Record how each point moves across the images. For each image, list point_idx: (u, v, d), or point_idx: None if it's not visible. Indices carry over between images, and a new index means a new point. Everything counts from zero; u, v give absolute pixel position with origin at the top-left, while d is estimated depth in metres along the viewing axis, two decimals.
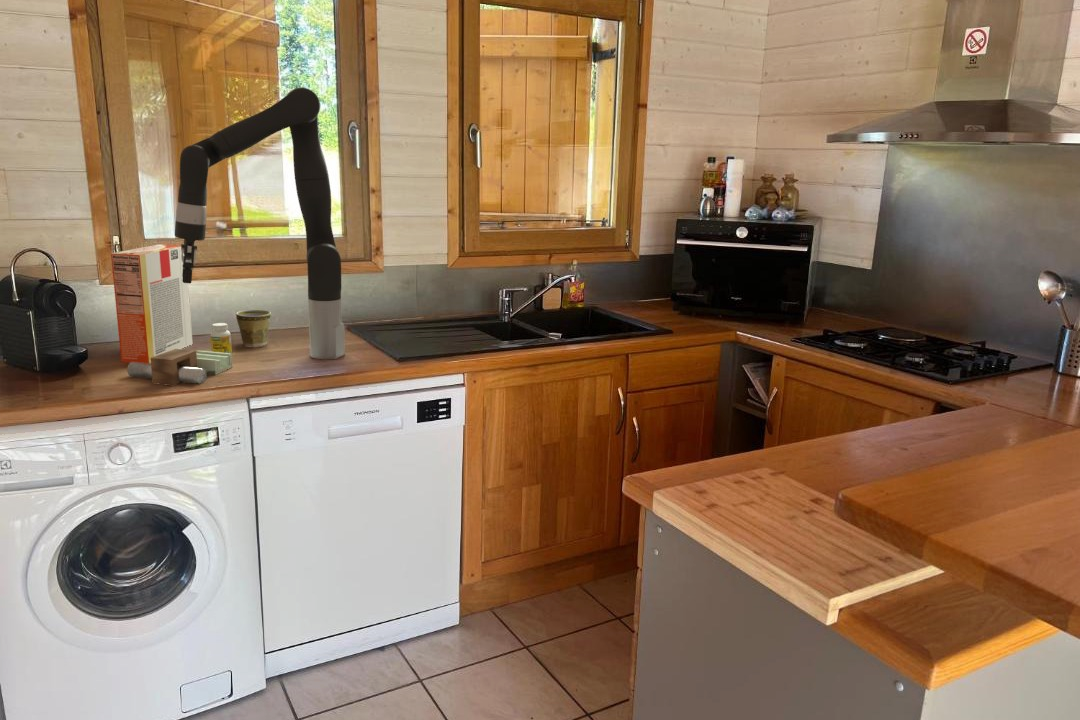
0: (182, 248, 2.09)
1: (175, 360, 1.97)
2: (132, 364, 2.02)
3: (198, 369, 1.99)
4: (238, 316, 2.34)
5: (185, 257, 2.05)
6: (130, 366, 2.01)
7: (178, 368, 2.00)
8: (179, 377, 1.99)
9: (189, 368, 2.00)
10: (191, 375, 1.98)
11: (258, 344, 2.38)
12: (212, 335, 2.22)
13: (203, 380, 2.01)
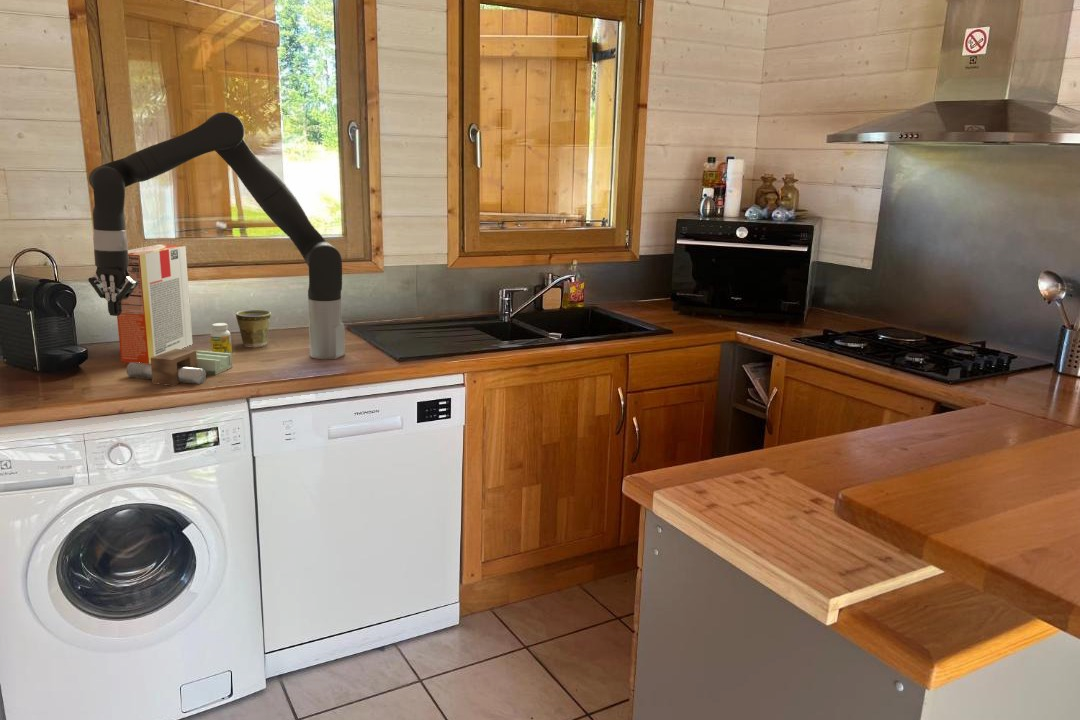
0: (114, 280, 1.96)
1: (175, 360, 1.97)
2: (130, 365, 2.01)
3: (197, 370, 1.99)
4: (238, 316, 2.34)
5: (126, 293, 1.98)
6: (129, 367, 2.01)
7: (177, 369, 1.99)
8: (179, 378, 1.99)
9: (188, 369, 1.99)
10: (190, 376, 1.98)
11: (258, 344, 2.38)
12: (212, 335, 2.22)
13: (203, 380, 2.01)
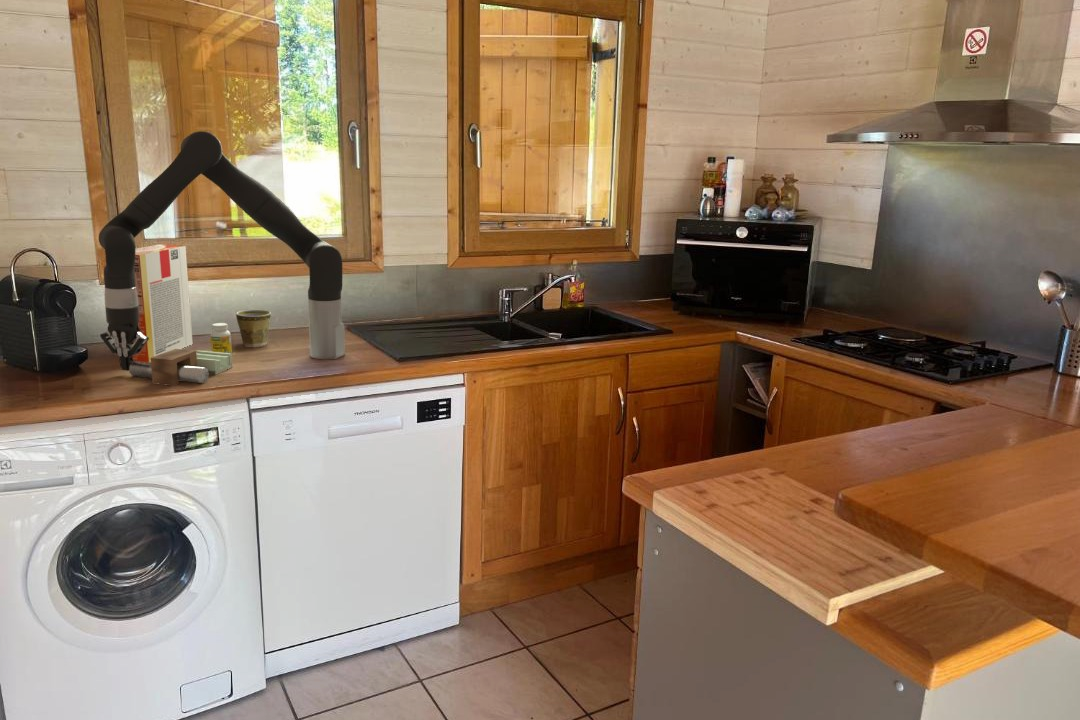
0: (126, 336, 2.00)
1: (175, 360, 1.97)
2: (134, 363, 2.02)
3: (201, 368, 1.99)
4: (238, 316, 2.34)
5: (138, 348, 2.01)
6: (132, 364, 2.02)
7: (181, 367, 2.00)
8: (181, 375, 1.99)
9: (192, 367, 2.00)
10: (193, 373, 1.98)
11: (258, 344, 2.38)
12: (212, 335, 2.22)
13: (205, 380, 2.01)
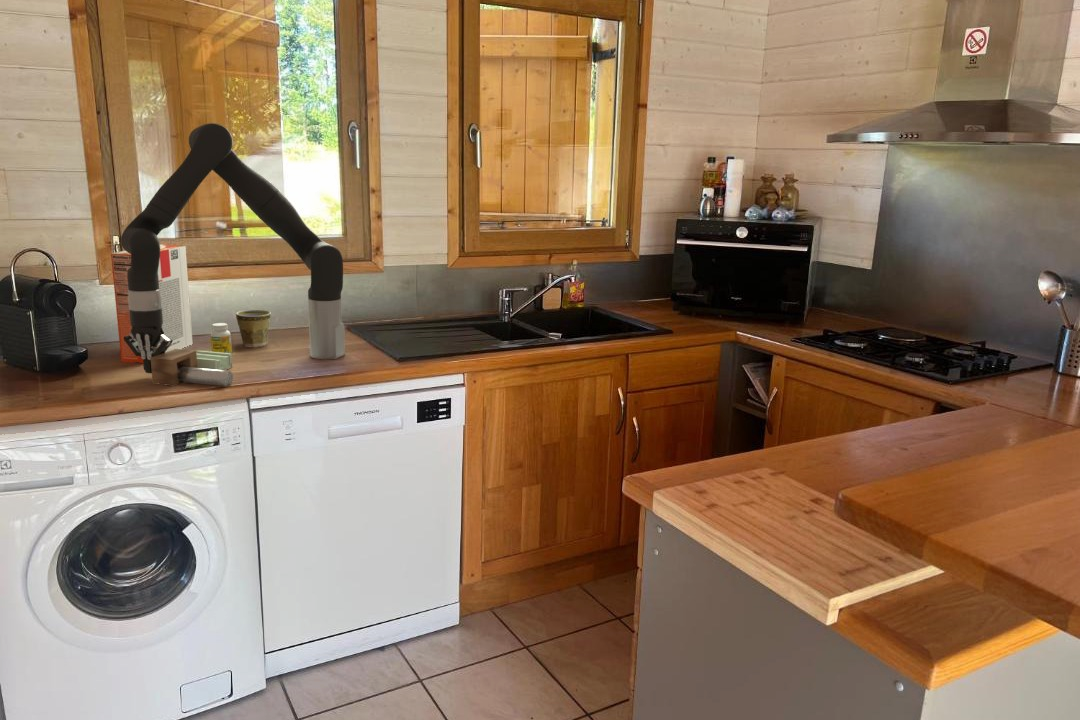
0: (150, 339, 1.98)
1: (175, 360, 1.97)
2: None
3: (225, 371, 1.98)
4: (238, 316, 2.34)
5: (162, 351, 1.99)
6: None
7: (204, 370, 1.98)
8: (205, 379, 1.98)
9: (215, 370, 1.98)
10: (217, 377, 1.97)
11: (258, 344, 2.38)
12: (212, 335, 2.22)
13: (229, 383, 1.99)
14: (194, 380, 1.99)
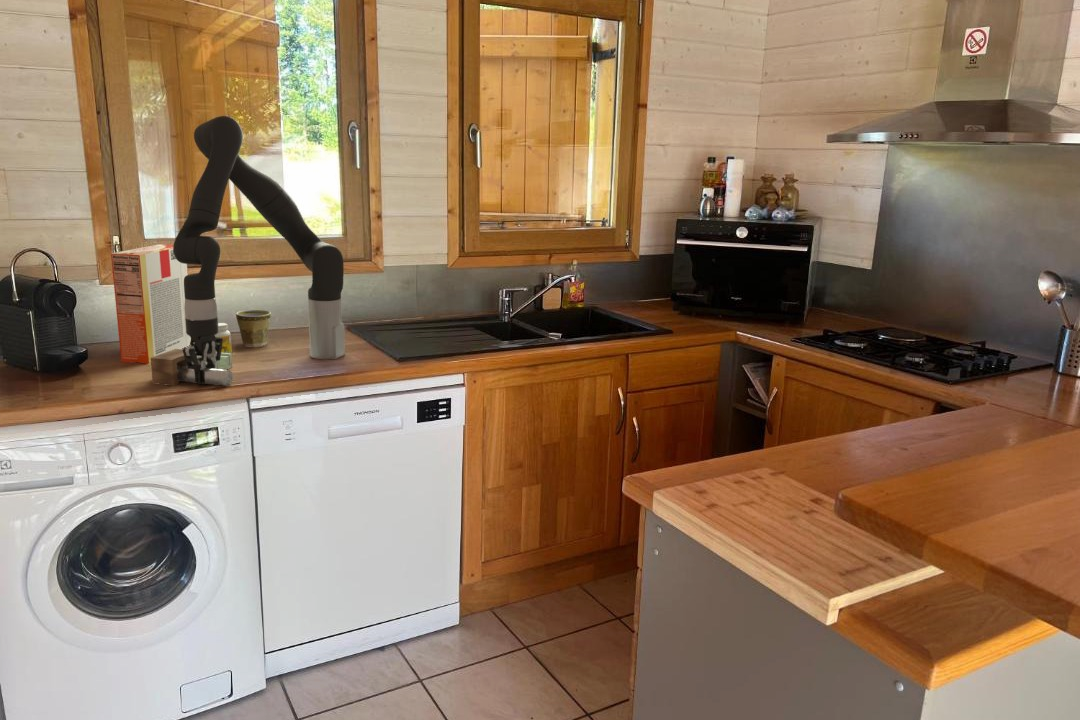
0: None
1: (175, 360, 1.97)
2: None
3: (225, 371, 1.98)
4: (238, 316, 2.34)
5: None
6: None
7: (204, 369, 1.98)
8: (205, 378, 1.98)
9: (216, 370, 1.98)
10: (217, 376, 1.97)
11: (258, 344, 2.38)
12: None
13: (229, 382, 1.99)
14: (193, 379, 1.99)
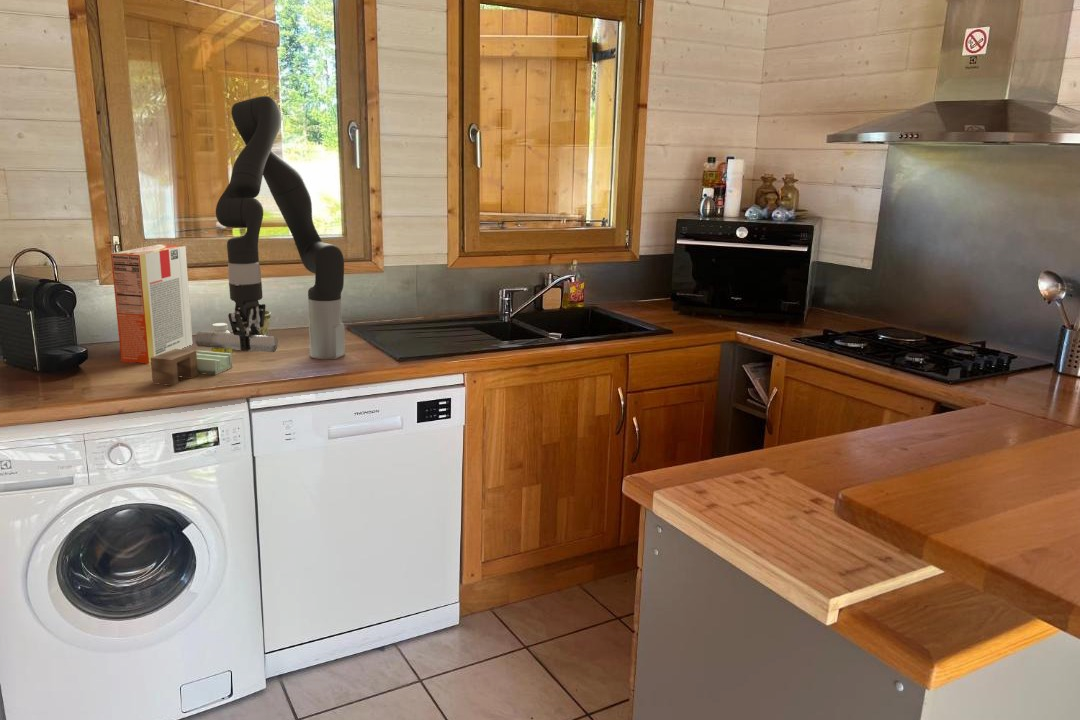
0: None
1: (175, 360, 1.97)
2: (200, 333, 1.96)
3: (270, 337, 1.94)
4: None
5: None
6: (198, 335, 1.96)
7: (249, 336, 1.94)
8: (250, 345, 1.93)
9: (260, 336, 1.94)
10: (263, 342, 1.93)
11: None
12: None
13: (274, 349, 1.95)
14: (238, 346, 1.94)
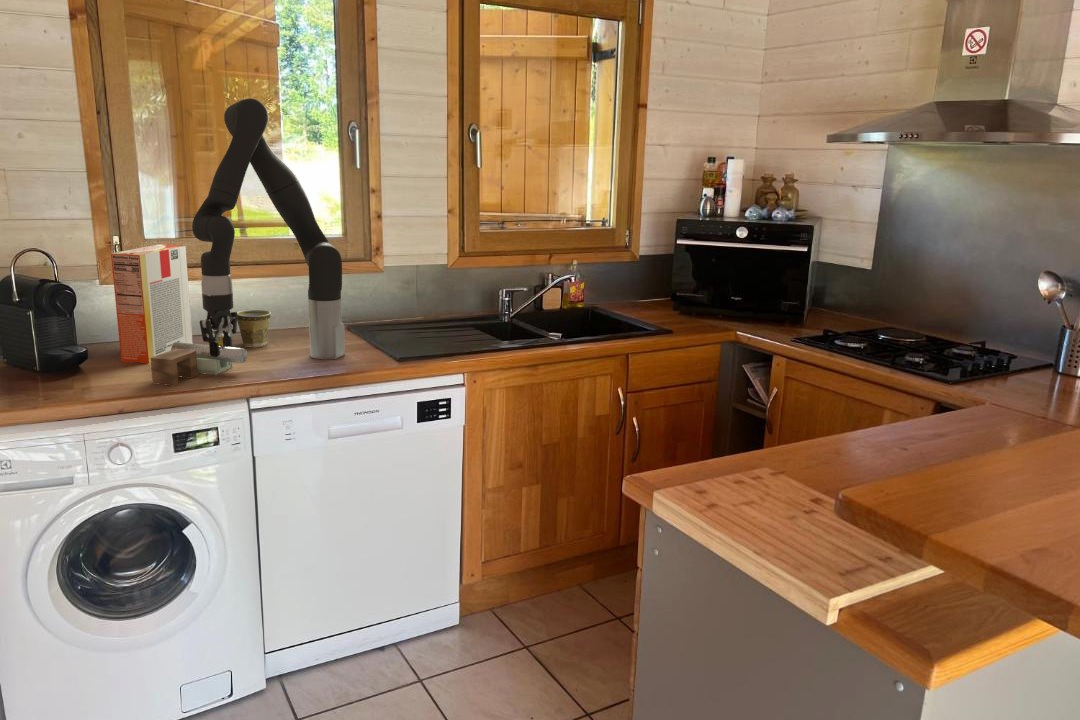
0: None
1: (175, 360, 1.97)
2: (175, 344, 2.11)
3: (239, 349, 2.08)
4: (238, 316, 2.34)
5: None
6: (174, 346, 2.11)
7: (220, 348, 2.09)
8: (221, 356, 2.08)
9: (231, 348, 2.09)
10: (232, 354, 2.07)
11: (258, 344, 2.38)
12: None
13: (244, 360, 2.10)
14: (210, 357, 2.09)
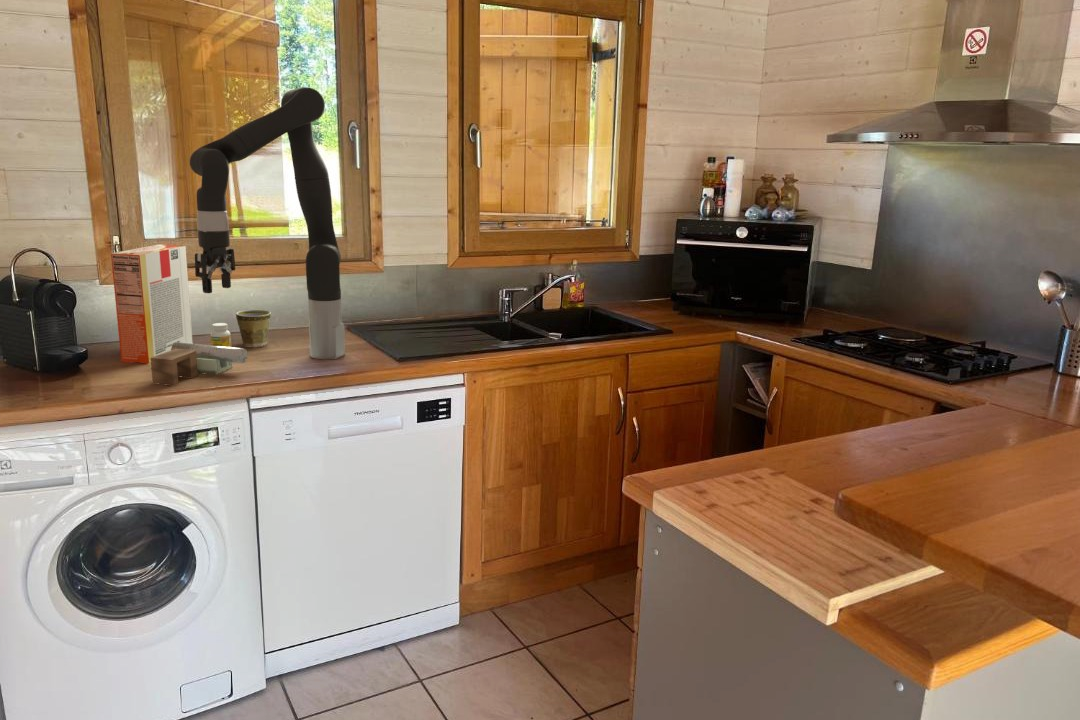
0: None
1: (175, 360, 1.97)
2: (175, 344, 2.11)
3: (239, 349, 2.08)
4: (238, 316, 2.34)
5: None
6: (174, 346, 2.11)
7: (220, 348, 2.09)
8: (221, 356, 2.08)
9: (231, 348, 2.09)
10: (232, 354, 2.07)
11: (258, 344, 2.38)
12: (212, 335, 2.22)
13: (244, 360, 2.10)
14: (210, 357, 2.09)
